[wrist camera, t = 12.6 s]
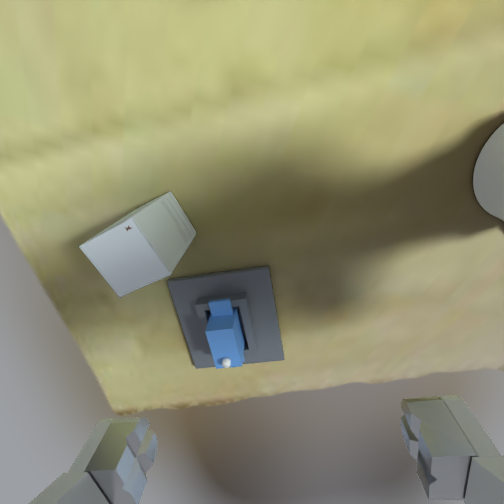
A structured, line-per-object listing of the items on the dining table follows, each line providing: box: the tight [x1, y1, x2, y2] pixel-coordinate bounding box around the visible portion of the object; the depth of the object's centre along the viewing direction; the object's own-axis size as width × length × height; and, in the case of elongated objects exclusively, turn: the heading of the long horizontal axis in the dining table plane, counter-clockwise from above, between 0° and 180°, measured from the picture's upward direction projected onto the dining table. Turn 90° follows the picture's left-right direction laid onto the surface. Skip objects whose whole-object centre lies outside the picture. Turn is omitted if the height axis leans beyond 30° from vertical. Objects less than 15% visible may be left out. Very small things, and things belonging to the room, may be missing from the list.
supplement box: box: [79, 191, 197, 297], centre depth 36 cm, size 7×7×13 cm
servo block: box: [205, 298, 245, 369], centre depth 44 cm, size 4×12×7 cm, turn 10°
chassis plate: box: [167, 265, 284, 369], centre depth 46 cm, size 16×18×3 cm
